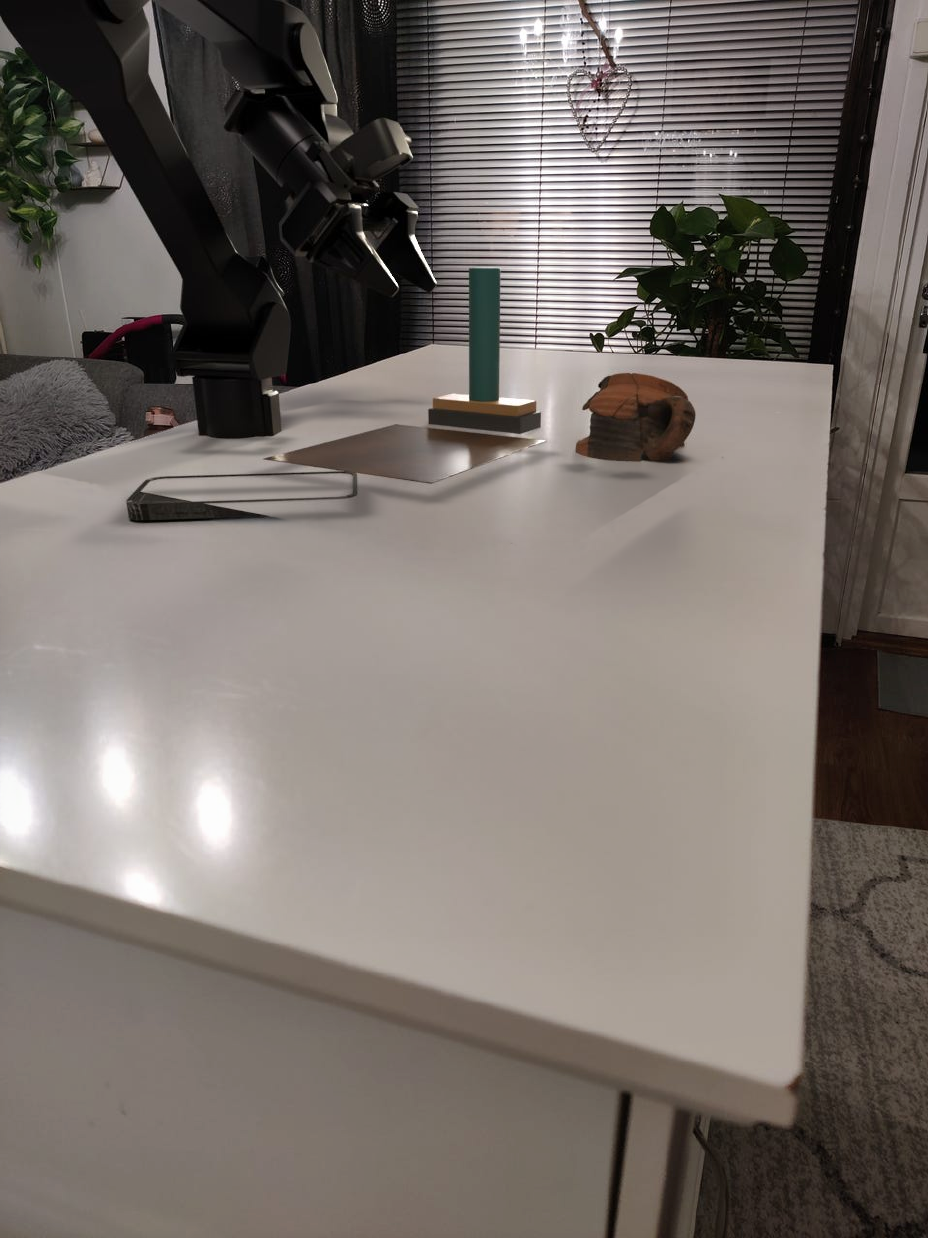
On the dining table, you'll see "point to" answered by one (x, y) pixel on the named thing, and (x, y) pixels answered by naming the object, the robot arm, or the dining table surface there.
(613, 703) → the dining table surface
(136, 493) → the black flat open frame
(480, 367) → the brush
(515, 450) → the tray
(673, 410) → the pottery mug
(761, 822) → the dining table surface
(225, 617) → the dining table surface
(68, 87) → the robot arm
